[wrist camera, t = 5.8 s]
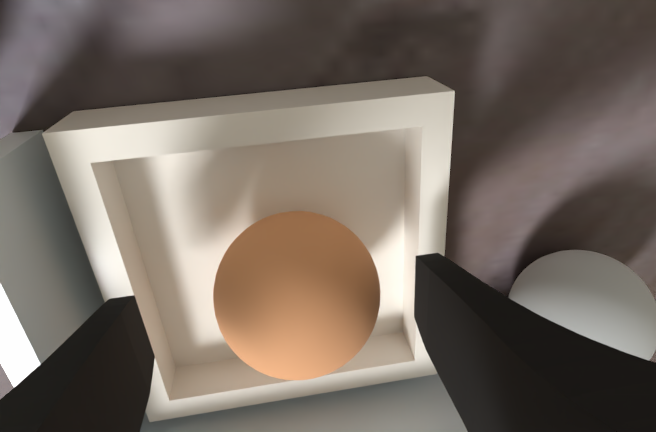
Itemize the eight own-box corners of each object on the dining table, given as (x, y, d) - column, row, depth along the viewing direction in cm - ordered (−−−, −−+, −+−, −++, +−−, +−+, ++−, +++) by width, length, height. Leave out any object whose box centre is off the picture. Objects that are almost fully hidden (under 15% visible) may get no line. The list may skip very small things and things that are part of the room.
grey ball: (584, 315, 18) (674, 405, 14) (479, 331, 18) (542, 429, 14) (608, 219, 16) (720, 293, 12) (490, 235, 16) (569, 318, 12)
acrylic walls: (505, 350, 18) (565, 437, 15) (124, 413, 17) (90, 526, 13) (547, 77, 13) (653, 111, 10) (10, 133, 12) (-93, 196, 8)
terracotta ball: (347, 292, 16) (409, 386, 12) (219, 327, 14) (242, 443, 11) (341, 173, 14) (412, 242, 10) (190, 203, 12) (208, 293, 9)
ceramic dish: (418, 334, 17) (437, 374, 15) (160, 374, 16) (149, 422, 15) (427, 76, 13) (454, 91, 11) (73, 111, 12) (41, 133, 10)
